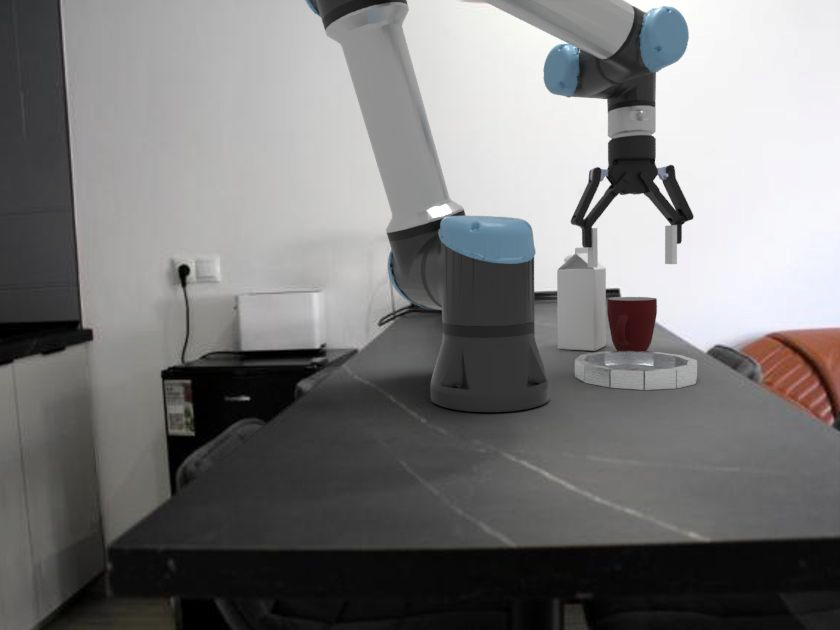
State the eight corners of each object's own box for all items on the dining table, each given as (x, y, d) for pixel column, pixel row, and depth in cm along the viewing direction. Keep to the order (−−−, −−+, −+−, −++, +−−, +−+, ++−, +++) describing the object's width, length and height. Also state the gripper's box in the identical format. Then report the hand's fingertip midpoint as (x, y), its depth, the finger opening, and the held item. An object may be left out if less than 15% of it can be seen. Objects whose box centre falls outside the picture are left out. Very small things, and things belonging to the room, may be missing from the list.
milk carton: (606, 346, 119) (606, 246, 117) (594, 352, 113) (594, 247, 111) (569, 344, 122) (569, 247, 120) (557, 349, 116) (556, 248, 114)
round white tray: (599, 392, 81) (599, 373, 81) (562, 368, 98) (562, 353, 97) (720, 386, 82) (720, 368, 82) (663, 364, 99) (663, 349, 98)
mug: (650, 363, 100) (651, 302, 99) (599, 361, 104) (599, 301, 103) (659, 353, 109) (659, 297, 108) (612, 351, 113) (612, 296, 112)
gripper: (564, 135, 98) (566, 269, 100) (716, 131, 100) (715, 263, 102) (551, 143, 105) (553, 268, 108) (692, 139, 107) (692, 262, 109)
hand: (631, 265), depth 105 cm, fingers open, 13 cm apart
